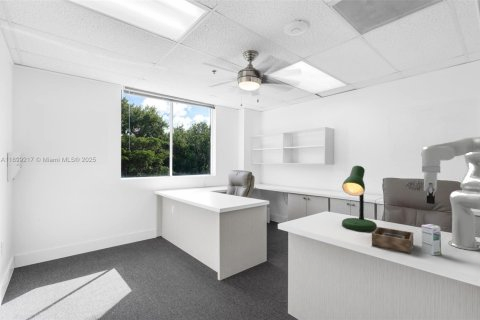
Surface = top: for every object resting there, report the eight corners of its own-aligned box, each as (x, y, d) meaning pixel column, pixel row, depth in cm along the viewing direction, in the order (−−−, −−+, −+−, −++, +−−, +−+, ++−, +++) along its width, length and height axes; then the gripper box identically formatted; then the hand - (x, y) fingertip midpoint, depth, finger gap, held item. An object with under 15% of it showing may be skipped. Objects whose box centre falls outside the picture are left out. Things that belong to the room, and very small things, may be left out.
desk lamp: (369, 237, 147) (369, 166, 147) (333, 230, 162) (333, 165, 162) (379, 226, 170) (379, 165, 170) (347, 221, 185) (347, 165, 185)
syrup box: (433, 255, 119) (433, 227, 119) (421, 251, 124) (421, 224, 124) (441, 254, 120) (441, 226, 120) (429, 250, 126) (429, 223, 126)
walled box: (413, 244, 134) (413, 232, 134) (410, 254, 120) (410, 240, 120) (377, 237, 146) (377, 226, 146) (371, 245, 132) (371, 233, 132)
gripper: (422, 169, 131) (422, 199, 131) (421, 170, 118) (421, 203, 118) (440, 169, 127) (439, 201, 126) (440, 170, 113) (440, 205, 113)
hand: (430, 202), depth 122 cm, fingers open, 9 cm apart
